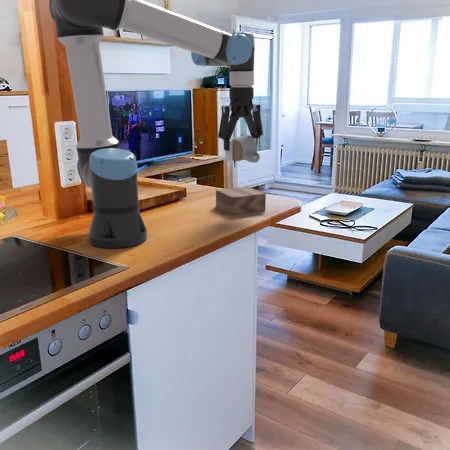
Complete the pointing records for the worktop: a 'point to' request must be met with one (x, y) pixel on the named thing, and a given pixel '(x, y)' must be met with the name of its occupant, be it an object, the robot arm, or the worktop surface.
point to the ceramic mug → (245, 149)
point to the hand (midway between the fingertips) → (240, 159)
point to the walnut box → (240, 200)
